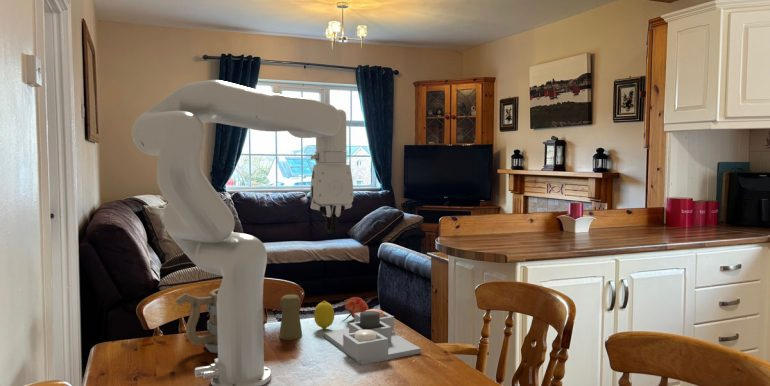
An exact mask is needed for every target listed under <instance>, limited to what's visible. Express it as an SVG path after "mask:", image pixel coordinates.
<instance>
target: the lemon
mask: <svg viewBox="0 0 770 386" xmlns="http://www.w3.org/2000/svg"><path fill="white" fill-rule="evenodd" d="M334 310H335V309H334V307H333V306H332V304H331V303H329V302H328V301H326V300H323V301H321V302H319V303H318V304H317V305H316V307H315V308H314V312H313V318H314V322H315V324H316V325H317V326H318V327H319V328H321V329H322V330H326V329H327V328H328V327H330V326H332V325H333V323H334V321H335V311H334Z"/></svg>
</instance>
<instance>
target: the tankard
mask: <svg viewBox="0 0 770 386" xmlns="http://www.w3.org/2000/svg"><path fill="white" fill-rule="evenodd" d="M219 288H220V287H219ZM219 288H216V289H213V290H211V291H209V293H208V294H209V295H208V296H203V297H199V296H194V295H192V294H188V293H185V292H184V293H182V294H181V295H180V296H178V297H177V298H175V302H176V303H177V305H178V306H182V305H183V304H184V303H189V304H190V311H189V312H190V314H189V316H188V319H187V323H186V325H185V331H186V336H187V338H188V339H189V342H190V343H191V344H192V345H195V346H196V345H197V346H199V345H201V346H203V345H204V347H205V348H206V349H207V350H208V351H209V352H210V353H211V354H213V353H214V354H218V337H217V295H218V291H219ZM202 305H203V306H204V305H206V311H207V312H208V313H209V319H208V320H207V321H206V324H207V325H206V330H207V331H208V332H209V333H208V334H205V335H198V334H197V330H196V327H197V324H198V322H199V318H200V314H201V306H202Z"/></svg>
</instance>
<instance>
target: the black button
mask: <svg viewBox="0 0 770 386" xmlns="http://www.w3.org/2000/svg"><path fill="white" fill-rule="evenodd" d="M360 328H362V329H364V330H368V329H374V328H380V313H379V312H377V311H364V312H361V313H360Z"/></svg>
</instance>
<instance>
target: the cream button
mask: <svg viewBox="0 0 770 386" xmlns="http://www.w3.org/2000/svg"><path fill="white" fill-rule="evenodd" d="M355 339H356V340H357V341H359V342H364V341H370V340H375V339H376V332H375V331H373V330H359V331H356V332H355Z"/></svg>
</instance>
